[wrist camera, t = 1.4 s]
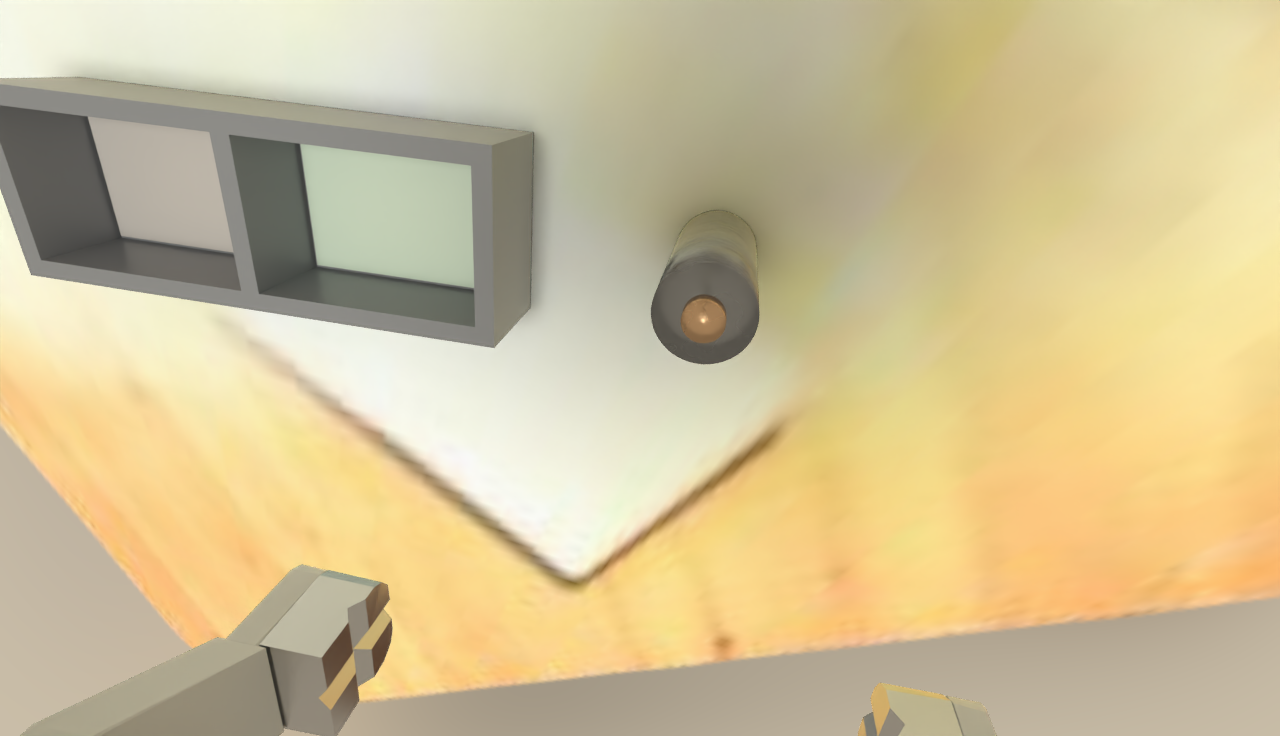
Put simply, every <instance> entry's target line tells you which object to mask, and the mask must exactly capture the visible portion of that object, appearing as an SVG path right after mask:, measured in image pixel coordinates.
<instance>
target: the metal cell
mask: <svg viewBox="0 0 1280 736" xmlns="http://www.w3.org/2000/svg"><path fill="white" fill-rule="evenodd" d="M651 318H652V324H653V328H654V330H655V333H656V335H657V337H658V338H659V340H660V341H661V343H662V344H663V345H664V346H665V347H666V348H667V349H668V350H669V351H670V352H671V353H673V354H674V355H676V356H677V357H679V358H681V359H683V360H686V361H689V362H693V363H698V364H714V363H719V362H723V361H726V360H728V359H731V358H732V357H734V356H736V355H737V354H739V353H740V352H741V351H743V350H744V349H745V348H746V347H747V345H748V344H749V343H750V342H751V340H752V338H753V337H754V335H755V332H756V330H757V327H758V322H759V295H758V268H757V245H756V239H755V236H754V234H753V232H752V230H751V228H750V227H749V225H748V224H747V223H746V222H745V221H744V220H743V219H741V218H740V217H738V216H737V215H735V214H733V213H730V212H727V211H720V210H714V211H708V212H704V213H701V214H699V215H697V216H695V217H694V218H692V219H691V220H690V221H689V222H688V223H687V224H686V225H685V226H684V228H683V229H682V231H681V233H680V235H679V237H678V240H677V242H676V244H675V247H674V249H673V252H672V254H671V256H670V259H669V261H668V264H667V266H666V269H665V271H664V273H663V276H662V278H661V281H660V283H659V285H658V288H657V290H656V293H655V295H654V298H653V301H652V307H651Z"/></svg>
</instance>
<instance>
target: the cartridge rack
mask: <svg viewBox="0 0 1280 736" xmlns="http://www.w3.org/2000/svg"><path fill="white" fill-rule="evenodd" d="M532 187H533V132H527V131H519V130H511V129H502V128H494V127H486V126H478V125H469V124H461V123H453V122H445V121H436V120H428V119H420V118H412V117H404V116H395V115H387V114H379V113H371V112H362V111H354V110H346V109H338V108H329V107H321V106H313V105H305V104H297V103H288V102H280V101H272V100H264V99H255V98H247V97H239V96H231V95H222V94H214V93H206V92H198V91H190V90H181V89H173V88H165V87H157V86H148V85H140V84H132V83H124V82H115V81H107V80H99V79H91V78H83V77H52V78H0V189H1V192H2V195H3V198H4V200H5V203H6V206H7V209H8V212H9V214H10V217H11V220H12V223H13V226H14V228H15V231H16V234H17V237H18V240H19V242H20V245H21V248H22V251H23V254H24V256H25V259H26V262H27V265H28V268H29V270H30V273H31V275H35V276H41V277H48V278H54V279H60V280H67V281H73V282H79V283H86V284H92V285H98V286H105V287H111V288H117V289H124V290H130V291H136V292H143V293H149V294H155V295H162V296H168V297H174V298H181V299H187V300H193V301H200V302H206V303H212V304H219V305H225V306H232V307H238V308H244V309H251V310H257V311H263V312H270V313H276V314H282V315H289V316H295V317H301V318H308V319H314V320H320V321H327V322H333V323H339V324H346V325H352V326H358V327H365V328H371V329H377V330H384V331H390V332H396V333H403V334H409V335H415V336H422V337H428V338H434V339H441V340H447V341H454V342H460V343H466V344H473V345H479V346H485V347H492V348H494V347H495V346H496V345H497V344H498V343H499V342H500V341H501V340H502V339H503V338H504V336H505V335H506V334H507V333H508V332H509V331H510V330H511V329H512V328H513V326H514V325H515V324H516V323H517V322H518V321H519V320H520V319H521V318H522V317H523V315H524V314H525V313H526V312H527V311H528V310H529V309H530V301H531V244H532Z"/></svg>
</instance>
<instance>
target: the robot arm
mask: <svg viewBox="0 0 1280 736" xmlns="http://www.w3.org/2000/svg"><path fill="white" fill-rule="evenodd" d="M389 600H390V597H389V591H388V585H387V584H384V583H382V582H378V581H373V580H369V579H365V578H360V577H356V576H352V575H347V574H343V573H339V572H335V571H330V570H325V569H320V568H316V567H311V566H307V565H300V566H298V567H296V568H294V569H292V570H291V571H289V573H288V574H287V575H286V576H285V577H284V578H283V579H282V580H281V581H280V582H279V583H278V584H277V585H276V586H275V587H274V588H273V589H272V591H271V592H270V593H269V594H268V595H267V596H266V597H265V598H264V599H263V600H262V601H261V602H260V603H259V604H258V605H257V606H256V607H255V608H254V610H253V611H252V612H251V613H250V614H249V615H248V616H247V617H246V618H245V619H244V620H243V621H242V622H241V623H240V624H239V625H238V626H237V628H236V629H235V630H234V631H233V632H232V633H231V634H230V635H229V636H228V637H227V638H226V639H225V638H219V637H217V638H215V639H212V640H210V641H208V642H206V643H204V644H202V645H200V646H198V647H195V648H193V649H191V650H189V651H187V652H185V653H183V654H181V655H179V656H176V657H174V658H172V659H170V660H168V661H166V662H164V663H162V664H159V665H157V666H155V667H153V668H151V669H149V670H147V671H145V672H143V673H140V674H138V675H136V676H134V677H132V678H130V679H128V680H126V681H123V682H121V683H119V684H117V685H115V686H113V687H111V688H109V689H107V690H105V691H102V692H100V693H98V694H96V695H94V696H92V697H90V698H88V699H85V700H83V701H81V702H79V703H77V704H75V705H73V706H71V707H68V708H66V709H64V710H62V711H60V712H58V713H56V714H54V715H52V716H49V717H47V718H45V719H43V720H41V721H39V722H37V723H35V724H33V725H31V726H30V727H29V728H28V729H27V730H26V731H25V732H23V733H22V734H21V735H20V736H279V735H280V734H282V733H283V732H284V728H285V729H290V730H296V731H300V732H305V733H310V734H316V735H320V736H337V735H338V733H339V732H340V730H341V729H342V727H343V725H344V724H345V722H346V721H347V719H348V718H349V716H350V714H351V713H352V711H353V710H354V708H355V707H356V705H357V703H358V702H359V692H358V686H360V685H361V684H363V683H365V682H366V681H368V680H370V679H371V678H373V677H375V675H376V673H377V672H378V670H379V668H380V667H381V665H382V663H383V662H384V659H385V657H386V654H387V651H388V649H389V646H390V643H391V636H392V619H391V617H390V616H389V615H388V614H387V612H386V611H385V610H384V609H383V608H384V607H385V606H386V604H387V603H388V601H389ZM871 704H872V709H873V712H872V713H870V714H868V715H866V716H864V717H863V719H862V722H861V725H860V728H859V731H858V736H997V735H996V733H995V730H994V727H993V725H992V722H991V720H990V717H989V715H988V712H987V710H986V708H985V707H984V706H983V705H982V704H981V703H979V702H975V701H970V700H965V699H960V698H955V697H950V696H944V695H942V694H937V693H932V692H926V691H921V690H916V689H911V688H905V687H900V686H895V685H890V684H884V683H879V684H878V685H877V686H876V687H875V688H874V691H873V693H872V696H871Z"/></svg>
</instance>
